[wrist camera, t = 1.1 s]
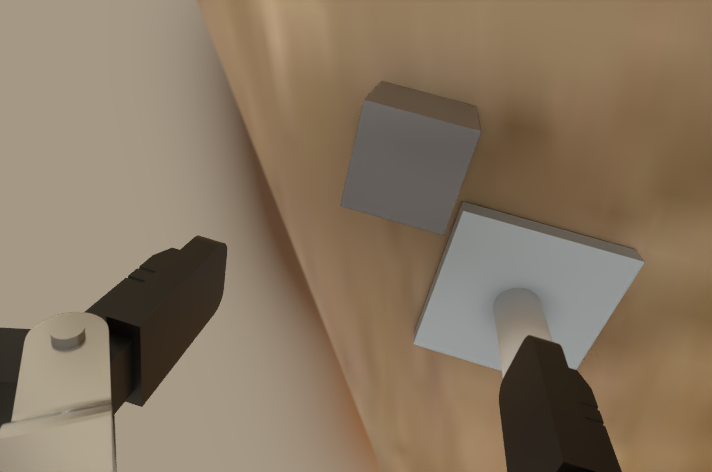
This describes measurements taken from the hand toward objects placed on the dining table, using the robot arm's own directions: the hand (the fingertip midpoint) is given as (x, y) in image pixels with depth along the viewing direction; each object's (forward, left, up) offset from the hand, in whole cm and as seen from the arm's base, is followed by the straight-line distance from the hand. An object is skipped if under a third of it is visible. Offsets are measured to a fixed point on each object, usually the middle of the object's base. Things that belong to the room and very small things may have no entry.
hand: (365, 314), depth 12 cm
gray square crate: (0, 0, -18) cm, 18 cm away
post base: (-10, +9, -18) cm, 22 cm away
